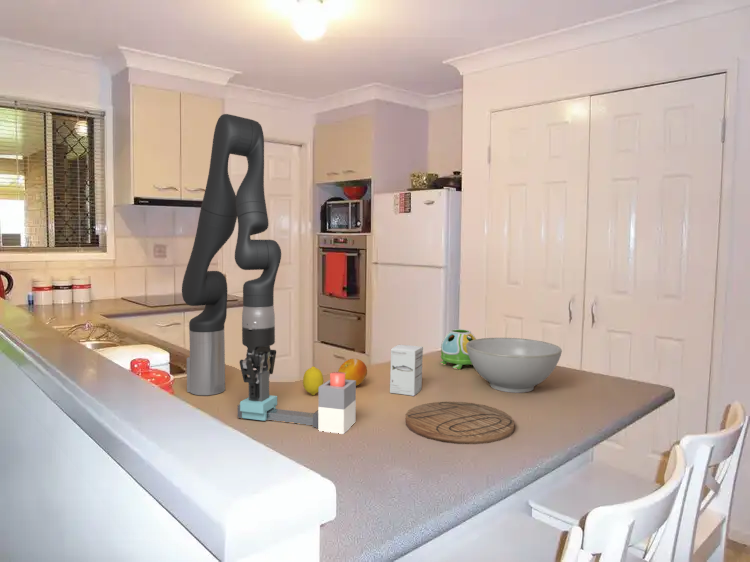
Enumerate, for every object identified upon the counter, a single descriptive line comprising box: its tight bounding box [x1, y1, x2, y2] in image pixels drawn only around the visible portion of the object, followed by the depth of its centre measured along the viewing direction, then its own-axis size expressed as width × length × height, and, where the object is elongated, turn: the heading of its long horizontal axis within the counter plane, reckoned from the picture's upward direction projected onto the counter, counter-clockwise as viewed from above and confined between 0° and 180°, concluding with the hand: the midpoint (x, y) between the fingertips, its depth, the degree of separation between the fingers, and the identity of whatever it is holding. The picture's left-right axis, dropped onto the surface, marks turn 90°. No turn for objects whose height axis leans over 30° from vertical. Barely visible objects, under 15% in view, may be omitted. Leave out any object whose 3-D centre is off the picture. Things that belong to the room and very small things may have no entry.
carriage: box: [239, 370, 278, 422], centre depth 132 cm, size 6×7×11 cm
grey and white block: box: [317, 379, 357, 435], centre depth 126 cm, size 6×8×10 cm
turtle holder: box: [440, 328, 477, 370], centre depth 186 cm, size 12×18×12 cm
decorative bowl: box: [466, 337, 563, 394], centre depth 161 cm, size 27×27×12 cm
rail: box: [237, 403, 318, 429], centre depth 130 cm, size 20×5×3 cm, turn 73°
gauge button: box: [329, 371, 345, 387], centre depth 126 cm, size 3×3×6 cm
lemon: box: [302, 366, 324, 396], centre depth 151 cm, size 6×6×8 cm
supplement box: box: [389, 344, 424, 397], centre depth 155 cm, size 7×7×13 cm
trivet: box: [405, 401, 515, 445], centre depth 129 cm, size 25×25×2 cm
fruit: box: [337, 357, 368, 387], centre depth 160 cm, size 8×9×8 cm
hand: (258, 396), depth 132 cm, fingers closed on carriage, 3 cm apart
